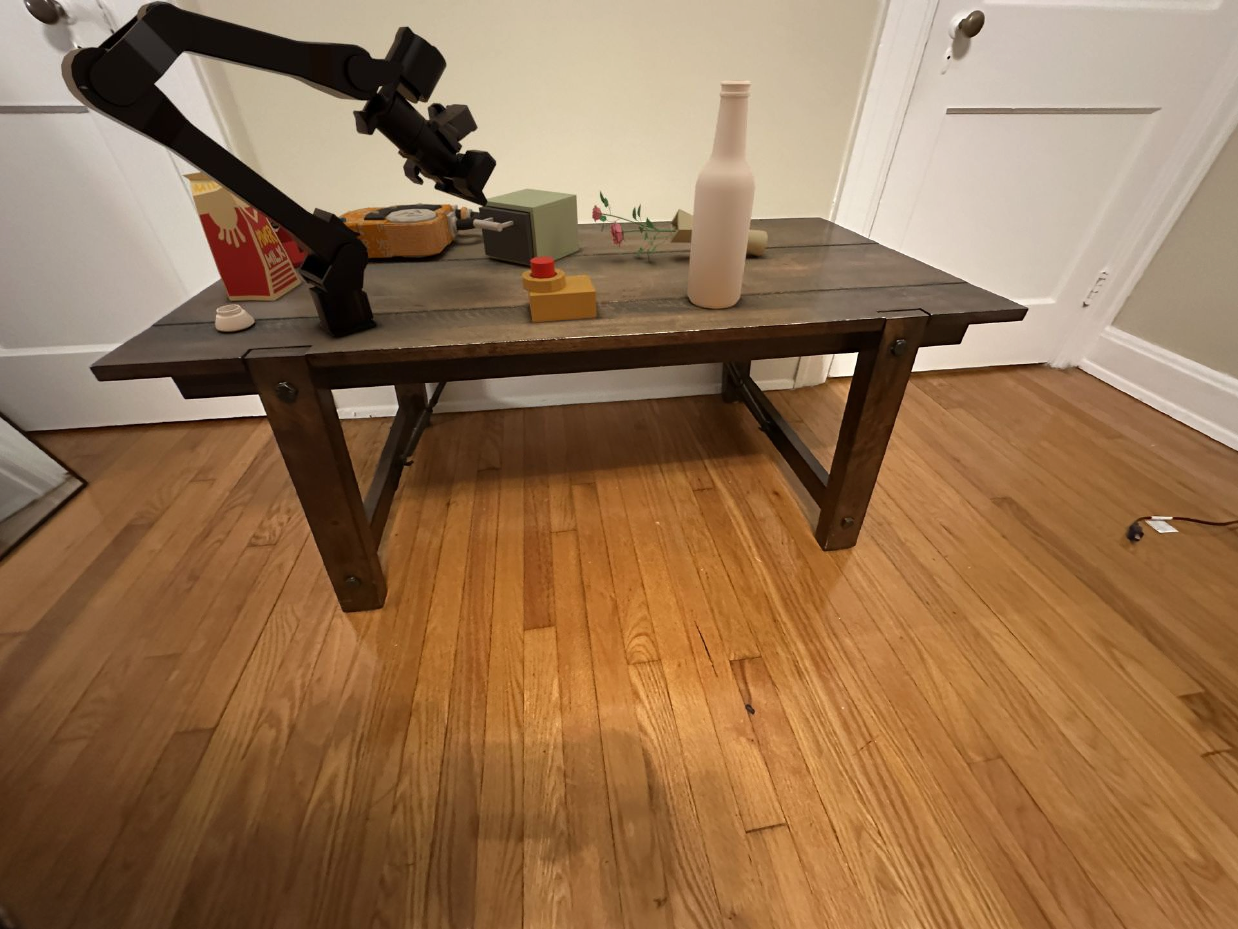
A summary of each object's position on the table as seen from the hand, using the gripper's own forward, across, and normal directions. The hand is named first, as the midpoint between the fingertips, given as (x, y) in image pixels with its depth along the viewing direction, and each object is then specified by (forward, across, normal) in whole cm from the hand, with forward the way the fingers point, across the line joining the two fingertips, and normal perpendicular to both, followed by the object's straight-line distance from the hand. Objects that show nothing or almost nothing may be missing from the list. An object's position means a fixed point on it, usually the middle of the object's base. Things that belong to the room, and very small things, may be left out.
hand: (485, 203), depth 89 cm
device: (+10, +32, +8) cm, 35 cm away
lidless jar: (-18, +12, +37) cm, 43 cm away
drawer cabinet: (+21, +9, -2) cm, 23 cm away
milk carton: (-12, +26, +31) cm, 43 cm away
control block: (+8, -19, +10) cm, 23 cm away
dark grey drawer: (+17, +8, 0) cm, 19 cm away
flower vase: (+33, -16, -14) cm, 40 cm away
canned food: (-6, +40, +25) cm, 47 cm away
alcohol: (+23, -35, -4) cm, 42 cm away
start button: (+3, -18, +8) cm, 20 cm away
